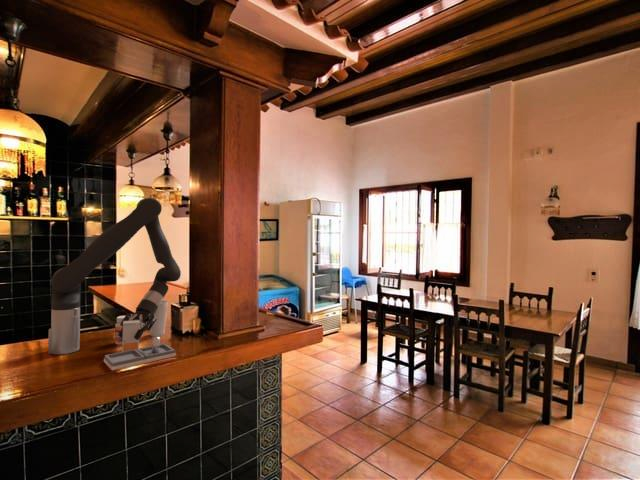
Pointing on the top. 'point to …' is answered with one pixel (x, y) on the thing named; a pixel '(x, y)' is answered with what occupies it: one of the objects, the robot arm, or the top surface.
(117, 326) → the pill bottle
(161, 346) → the board
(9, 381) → the top surface
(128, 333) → the skincare box
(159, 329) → the cup
